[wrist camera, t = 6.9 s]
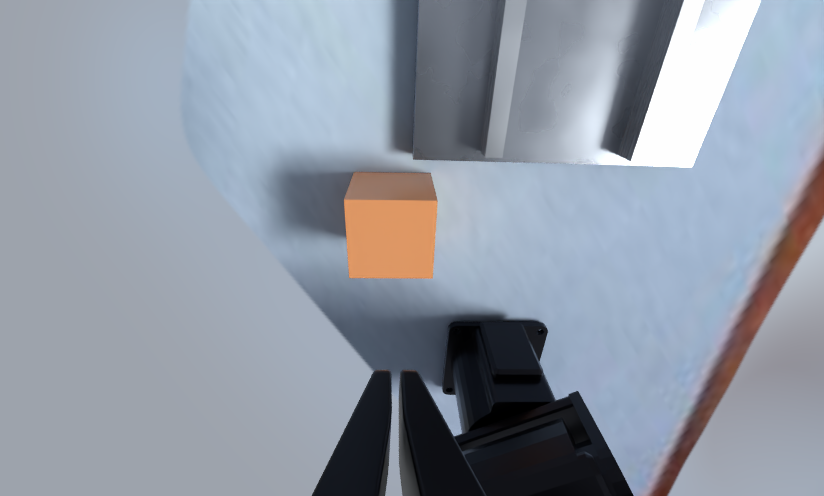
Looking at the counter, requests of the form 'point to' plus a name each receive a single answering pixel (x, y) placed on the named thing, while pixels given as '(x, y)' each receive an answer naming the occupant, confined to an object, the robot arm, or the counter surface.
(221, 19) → the counter surface
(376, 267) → the orange cube
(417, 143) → the panel
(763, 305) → the counter surface
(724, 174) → the counter surface
